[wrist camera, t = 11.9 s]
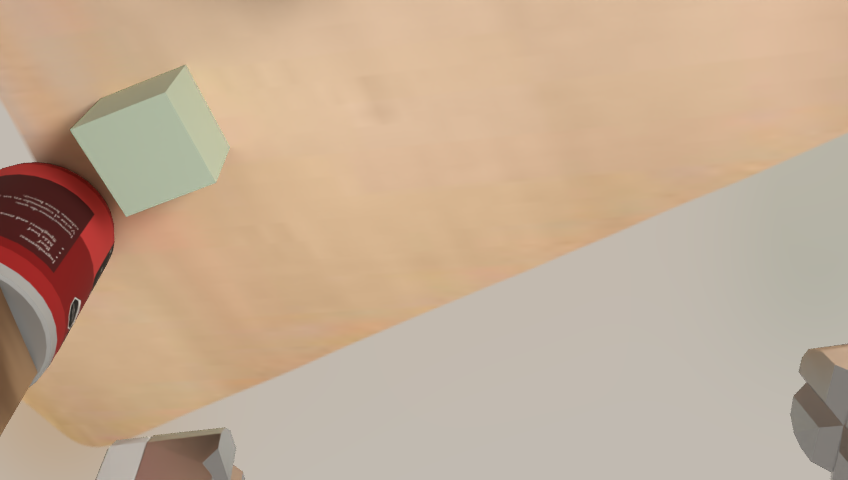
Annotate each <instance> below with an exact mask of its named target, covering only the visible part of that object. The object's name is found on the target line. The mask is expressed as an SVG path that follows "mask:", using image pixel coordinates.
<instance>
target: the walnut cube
mask: <svg viewBox="0 0 848 480" xmlns="http://www.w3.org/2000/svg"><path fill="white" fill-rule="evenodd" d="M36 374H37V369H36V367H35V365H34V363H33V360H32V358H31V356H30V354H29V351H28V349H27V347H26V344H25V342H24V340H23V338H22V335H21V333H20V331H19V328H18V326H17V324H16V322H15V319H14V317H13V315H12V312H11V310H10V308H9V306H8V303H7V301H6V299H5V297H4V294H3V292H2V290H1V287H0V435H1V434H2V432H3V430H4V429H5V427H6V425H7V424H8V422H9V420H10V418H11V417H12V415H13V413H14V412H15V410H16V408H17V407H18V405H19V403H20V401H21V400H22V398H23V396H24V395H25V393H26V391H27V389H28V388H29V386H30V384H31V383H32V381H33V379H34V378H35V376H36Z"/></svg>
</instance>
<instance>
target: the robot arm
mask: <svg viewBox="0 0 848 480" xmlns="http://www.w3.org/2000/svg"><path fill="white" fill-rule="evenodd" d="M799 373H800V374H801V376H802V377H803V378H804V380H805V381H806V384H805V385H804V386H803V387H802V388H801V389H800V390H799V391H798V392H797V393H796V394H795V395H794V397H793V402H792V408H791V419H792V425H793V430H794V434H795V436H796V438H797V441H798V443H799V445H800V447H801V449H802V450H803V451H804V452H805V454H806V455H807V457H808V458H809V459H810V461H811V462H813V463H815V464H817V465H819V466H820V467H822V468H824V469H826V470H828V471H830V472H831V480H848V344H842V345H834V346H828V347H820V348H813V349H808V351H807V352H806V353H805V355H804V356H803V357H802V360H801V364H800V369H799ZM235 451H236V447H235V444H234V441H233V438H232V435H231V432H230V430H228V429H227V428H216V429H208V430H198V431H189V432H180V433H171V434H161V435H154V436H153V437H141V438H132V439H123V440H116V441H115V442H114V443H113V444H112V445H111V446H110V447H109V448H108V450H107V452H106V454H105V457H104V460H103V462H102V464H101V467H100V469H99V472H98V474H97V477H96V480H245V478H244V474H243V472H242V471H241V470H240V469H238V468H237V467H236V466H234V465H233V463H234V457H235Z"/></svg>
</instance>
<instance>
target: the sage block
mask: <svg viewBox="0 0 848 480" xmlns="http://www.w3.org/2000/svg"><path fill="white" fill-rule="evenodd" d="M70 131H71V133H72V134H73V136H74V137H75V139H76V140H77V142H78V143H79V145H80V146H81V148H82V149H83V151H84V153H85V154H86V156H87V157H88V159H89V160H90V162H91V163H92V165H93V166H94V168H95V169H96V171H97V173H98V174H99V176H100V177H101V179H102V180H103V182H104V183H105V185H106V186H107V188H108V189H109V191H110V193H111V194H112V196H113V197H114V199H115V200H116V202H117V203H118V205H119V206H120V208H121V209H122V211H123V213H124V214H125V216H126V217H127V216H130V215H132V214H135V213H138V212H140V211H143V210H146V209H148V208H151V207H154V206H156V205H159V204H161V203H164V202H167V201H169V200H172V199H175V198H177V197H180V196H182V195H185V194H188V193H190V192H193V191H196V190H198V189H201V188H204V187H206V186H209V185H211V184H214V183H216V182H217V179H218V177H219V174H220V171H221V169H222V166H223V164H224V161H225V159H226V156H227V154H228V151H229V149H230V146H229V144H228V142H227V140H226V139H225V137H224V135H223V133H222V131H221V129H220V127H219V125H218V124H217V122H216V120H215V118H214V116H213V114H212V112H211V111H210V109H209V107H208V105H207V103H206V101H205V99H204V97H203V96H202V94H201V92H200V90H199V88H198V86H197V84H196V83H195V81H194V79H193V77H192V75H191V73H190V71H189V69H188V68H187V66H186V65H184V66H181V67H179V68H176V69H173V70H171V71H168V72H166V73H163V74H161V75H158V76H156V77H153V78H151V79H148V80H146V81H143V82H141V83H138V84H136V85H133V86H131V87H128V88H126V89H123V90H121V91H118V92H116V93H113V94H111V95H108V96H106V97H103V98H101V99H100V100H99V101H98V102H97V103H96V104H95V105H94V106H93V107H92V108H91V109H90V110H89V111H88V112H87V113H86V114H85V115H84V116H83V117H82V118H81V119H80V120H79V121H78V122H77V123H76V124H75V125H74V126H73V127H72V128H71V129H70Z"/></svg>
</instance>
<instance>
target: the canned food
mask: <svg viewBox="0 0 848 480" xmlns="http://www.w3.org/2000/svg"><path fill="white" fill-rule="evenodd" d="M113 246H114V223H113V220H112V216H111V212H110V210H109V208H108V206H107V204H106V202H105V200H104V199H103V198H102V196H101V195H100V194H99V192H98V191H97V190H96V189H95V188H94V187H93V186H92V185H91V184H90V183H89V182H88V181H86V180H85V179H83V178H82V177H80V176H79V175H78V174H76V173H74V172H72V171H70V170H68V169H65V168H63V167H60V166H56V165H53V164H48V163H39V162H32V163H22V164H17V165H13V166H9V167H6V168H2V169H1V170H0V287H1V290H2V292H3V294H4V297H5V299H6V301H7V303H8V306H9V308H10V310H11V312H12V315H13V317H14V319H15V322H16V324H17V326H18V328H19V331H20V333H21V335H22V338H23V340H24V342H25V344H26V347H27V349H28V351H29V354H30V356H31V358H32V360H33V363H34V365H35V367H36V369H37V374H36V376H35V378H34V379H33V381H32V383H31V384H30V386H31V385H33V384H34V383H35V382H36V381H37V380H38V379H39V378H40V376H41V375H42V374H43V373H44V371H45V370H46V369H47V368H48V366H49V365H50V364H51V362H52V360H53V358H54V357H55V355H56V353H57V352H58V351H59V349H60V347H61V345H62V343H63V342H64V340H65V338H66V336H67V335H68V333H69V331H70V329H71V327H72V326H73V324H74V322H75V320H76V319H77V317H78V315H79V313H80V311H81V310H82V308H83V306H84V304H85V302H86V301H87V299H88V297H89V295H90V294H91V292H92V290H93V288H94V286H95V285H96V283H97V281H98V279H99V278H100V276H101V274H102V272H103V270H104V269H105V267H106V265H107V263H108V261H109V259H110V257H111V255H112V251H113ZM30 386H29V387H30Z"/></svg>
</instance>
